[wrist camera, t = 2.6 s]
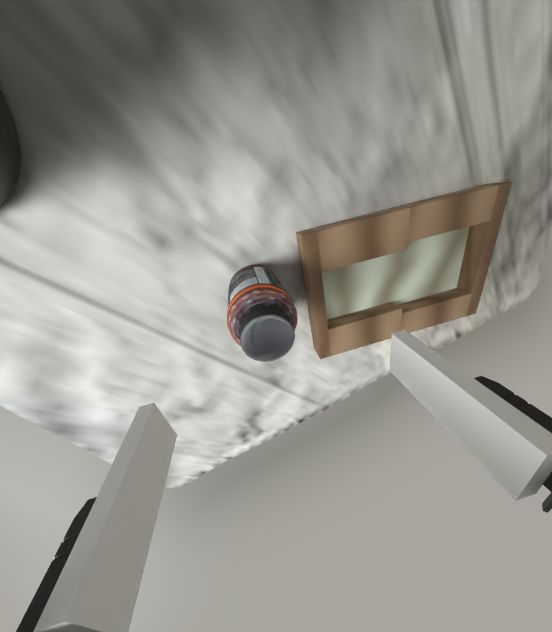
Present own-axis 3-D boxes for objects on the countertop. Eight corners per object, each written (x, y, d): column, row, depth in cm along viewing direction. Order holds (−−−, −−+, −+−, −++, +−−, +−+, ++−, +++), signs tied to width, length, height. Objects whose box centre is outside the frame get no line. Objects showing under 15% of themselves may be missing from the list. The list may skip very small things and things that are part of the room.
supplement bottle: (285, 301, 27) (316, 356, 17) (240, 318, 27) (246, 384, 17) (269, 255, 24) (295, 290, 14) (219, 275, 24) (210, 323, 14)
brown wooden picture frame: (314, 348, 31) (320, 358, 29) (296, 232, 23) (302, 235, 21) (459, 305, 32) (476, 313, 30) (487, 183, 25) (511, 181, 23)
